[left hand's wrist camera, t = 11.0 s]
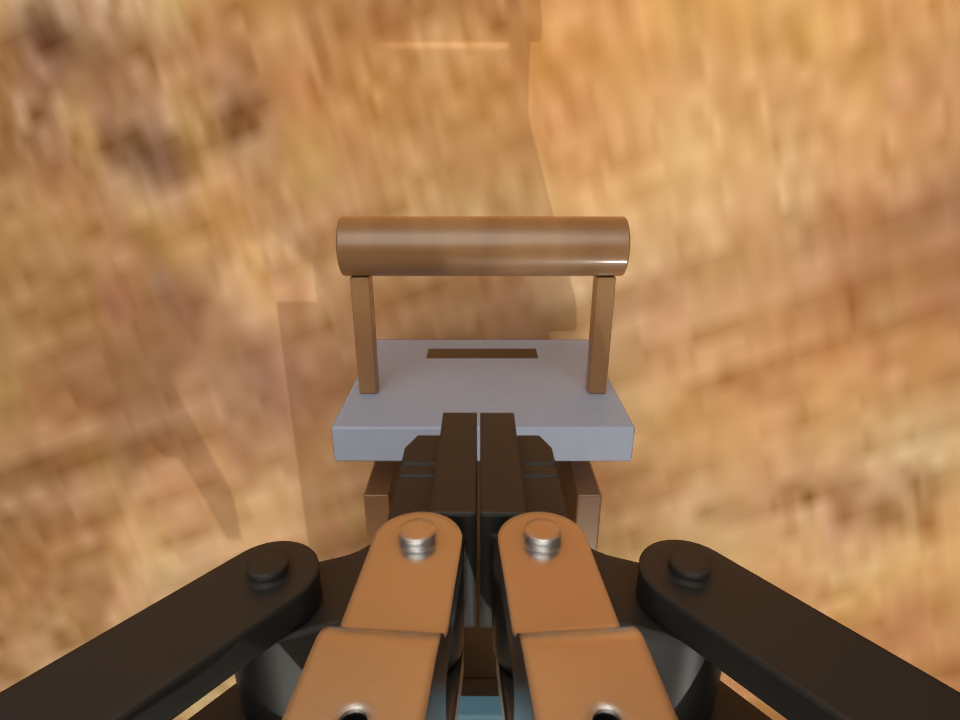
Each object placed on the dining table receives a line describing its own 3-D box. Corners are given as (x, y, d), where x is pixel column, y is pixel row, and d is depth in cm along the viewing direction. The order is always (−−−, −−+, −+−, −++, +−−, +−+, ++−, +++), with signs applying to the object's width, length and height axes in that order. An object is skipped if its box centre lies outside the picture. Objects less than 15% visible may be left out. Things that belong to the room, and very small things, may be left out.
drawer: (366, 199, 23) (309, 229, 15) (598, 199, 23) (657, 230, 15) (398, 670, 32) (373, 836, 24) (564, 670, 32) (591, 836, 24)
